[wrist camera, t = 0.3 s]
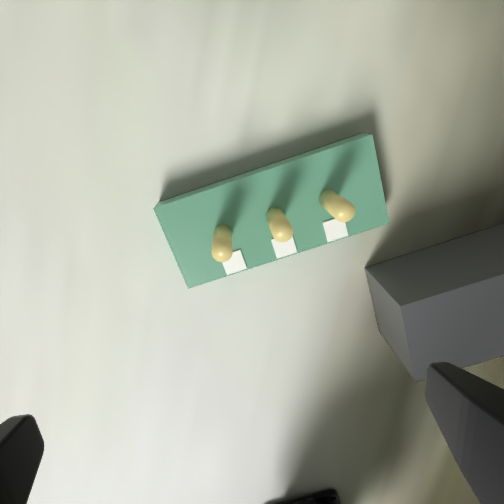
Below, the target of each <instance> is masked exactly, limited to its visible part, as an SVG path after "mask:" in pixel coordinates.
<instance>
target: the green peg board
mask: <svg viewBox="0 0 504 504" xmlns="http://www.w3.org/2000/svg"><path fill="white" fill-rule="evenodd" d="M153 209H154V211H155V213H156V215H157V218H158V220H159V222H160V225H161V227H162V229H163V232H164V234H165V236H166V238H167V241H168V243H169V245H170V248H171V250H172V252H173V255H174V257H175V259H176V262H177V264H178V266H179V268H180V271H181V273H182V275H183V278H184V280H185V282H186V285H187V287H188V289H189V288H192V287H195V286H198V285H201V284H204V283H207V282H210V281H213V280H216V279H220V278H223V277H226V276H229V275H232V274H235V273H238V272H241V271H244V270H247V269H250V268H253V267H257V266H260V265H263V264H266V263H269V262H272V261H275V260H278V259H281V258H284V257H287V256H290V255H294V254H297V253H300V252H303V251H306V250H309V249H312V248H315V247H318V246H321V245H324V244H327V243H331V242H334V241H337V240H340V239H343V238H346V237H349V236H352V235H355V234H358V233H361V232H364V231H368V230H371V229H374V228H377V227H380V226H383V225H386V224H389V218H388V213H387V208H386V203H385V197H384V192H383V187H382V182H381V177H380V171H379V166H378V161H377V156H376V150H375V145H374V140H373V135H372V134H365V133H361V134H358V135H356V136H353V137H350V138H347V139H344V140H341V141H338V142H335V143H332V144H329V145H326V146H323V147H320V148H317V149H314V150H311V151H308V152H305V153H302V154H299V155H296V156H294V157H291V158H288V159H285V160H282V161H279V162H276V163H273V164H270V165H267V166H264V167H261V168H258V169H255V170H252V171H249V172H246V173H243V174H240V175H237V176H234V177H231V178H229V179H226V180H223V181H220V182H217V183H214V184H211V185H208V186H205V187H202V188H199V189H196V190H193V191H190V192H187V193H184V194H181V195H178V196H175V197H172V198H169V199H167V200H164V201H161V202H158V203H157V205H156V206H155V207H154V208H153Z"/></svg>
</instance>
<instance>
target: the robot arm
mask: <svg viewBox="0 0 504 504" xmlns="http://www.w3.org/2000/svg"><path fill="white" fill-rule="evenodd" d="M425 397H426V401H427V403H428V405H429V408H430V410H431V412H432V414H433V416H434V418H435V420H436V422H437V424H438V426H439V428H440V430H441V432H442V434H443V436H444V438H445V440H446V442H447V444H448V446H449V448H450V450H451V453H452V455H453V457H454V459H455V461H456V462H457V464H458V466H459V468H460V470H461V472H462V473H463V475H464V477H465V479H466V480H467V482H468V484H469V485H470V487H471V488H472V490H473V492H474V493H475V495H476V497H477V498H478V500H479V502H480V503H481V504H504V389H502V388H500V387H498V386H496V385H494V384H492V383H490V382H488V381H486V380H483V379H481V378H479V377H477V376H475V375H473V374H471V373H469V372H467V371H465V370H463V369H461V368H459V367H457V366H455V365H453V364H451V363H449V362H437V363H431V364H429V365H428V366H427V370H426V383H425ZM43 452H44V441H43V438H42V435H41V433H40V430H39V428H38V425H37V423H36V420H35V418H34V417H33V416H32V415H29V414H27V415H19V416H13V417H10V418H9V419H7V420H6V421H4V422H3V423H2V424H0V504H27V501H28V498H29V495H30V492H31V489H32V486H33V483H34V480H35V477H36V474H37V471H38V468H39V465H40V462H41V459H42V456H43ZM283 504H341V502H340V499H339V496H338V493H337V491H336V490H328V491H325V492H321V493H318V494H314V495H311V496H307V497H304V498H300V499H297V500H293V501H290V502H286V503H283Z"/></svg>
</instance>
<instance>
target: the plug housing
mask: <svg viewBox="0 0 504 504" xmlns="http://www.w3.org/2000/svg"><path fill="white" fill-rule="evenodd" d="M365 271H366V276H367V280H368V285H369V289H370V293H371V298H372V302H373V307H374V311H375V315H376V320H377V324H378V328H379V332H380V334H381V335H382V336H383V338H384V339H385V341H386V342H387V343H388V345H389V346H390V348H391V349H392V350H393V352H394V353H395V355H396V356H397V357H398V359H399V360H400V362H401V363H402V364H403V366H404V367H405V369H406V370H407V371H408V373H409V374H410V376H411V377H412V378H413V380H414V381H415V382H418V381H421V380H424V379H426V370H427V366H428V365H429V364H431V363H437V362H449V363H451V364H453V365H455V366H457V367H459V368H464V367H468V366H471V365H474V364H478V363H481V362H484V361H488V360H491V359H494V358H498V357H501V356H504V224H500V225H497V226H494V227H491V228H488V229H485V230H482V231H478V232H475V233H472V234H469V235H466V236H463V237H460V238H457V239H453V240H450V241H447V242H444V243H441V244H438V245H435V246H431V247H428V248H425V249H422V250H419V251H416V252H413V253H410V254H406V255H403V256H400V257H397V258H394V259H391V260H388V261H384V262H381V263H378V264H375V265H372V266H369V267H366V268H365Z"/></svg>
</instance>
